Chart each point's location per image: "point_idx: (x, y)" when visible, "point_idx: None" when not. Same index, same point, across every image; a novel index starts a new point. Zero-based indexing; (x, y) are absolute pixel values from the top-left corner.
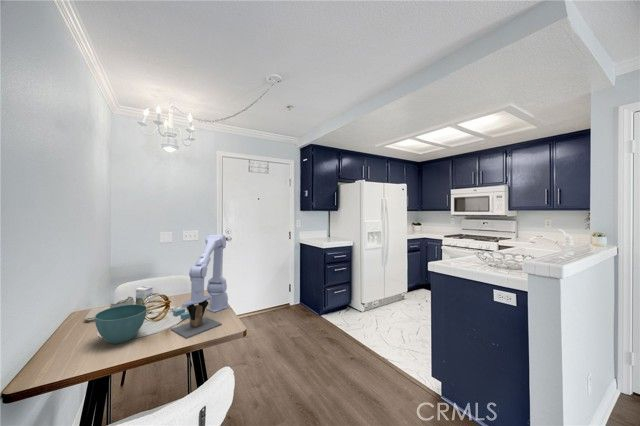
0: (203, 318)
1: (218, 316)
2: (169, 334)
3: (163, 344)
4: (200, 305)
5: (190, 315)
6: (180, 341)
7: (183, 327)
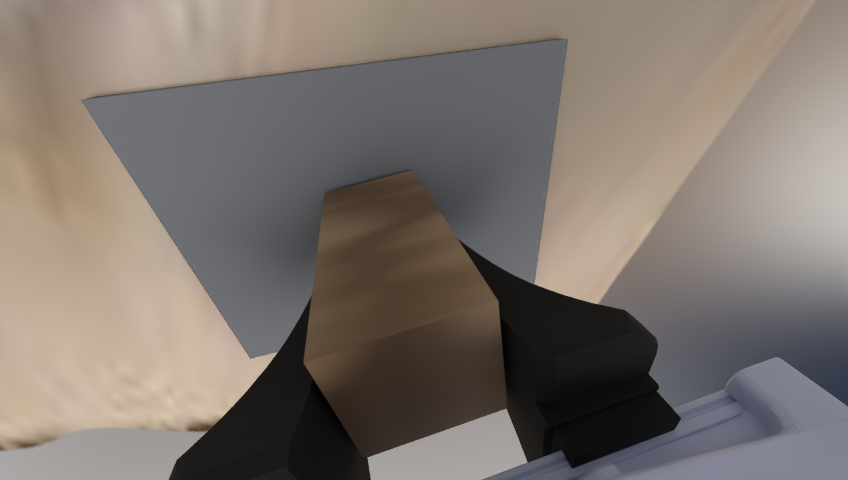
0: (520, 75)
1: (639, 108)
2: (91, 209)
3: (60, 355)
4: (500, 382)
5: (309, 313)
6: (206, 364)
7: (255, 170)
